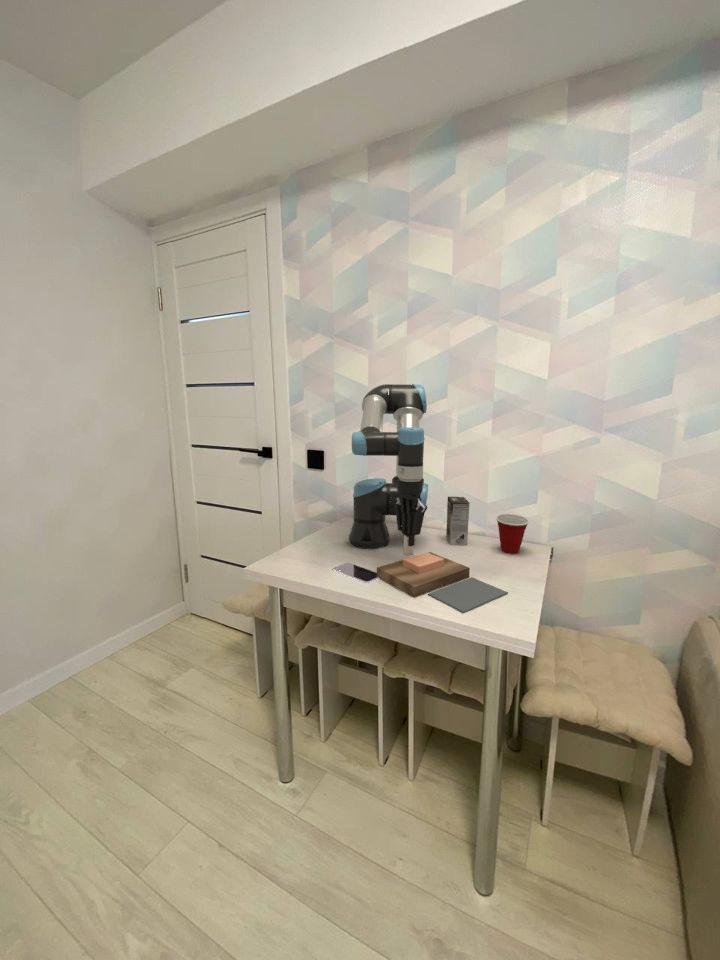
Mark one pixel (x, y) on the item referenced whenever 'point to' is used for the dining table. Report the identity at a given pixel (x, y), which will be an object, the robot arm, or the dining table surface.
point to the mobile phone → (357, 572)
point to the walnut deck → (422, 576)
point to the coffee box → (457, 520)
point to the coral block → (423, 562)
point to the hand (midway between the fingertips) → (408, 555)
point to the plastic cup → (511, 531)
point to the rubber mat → (467, 594)
